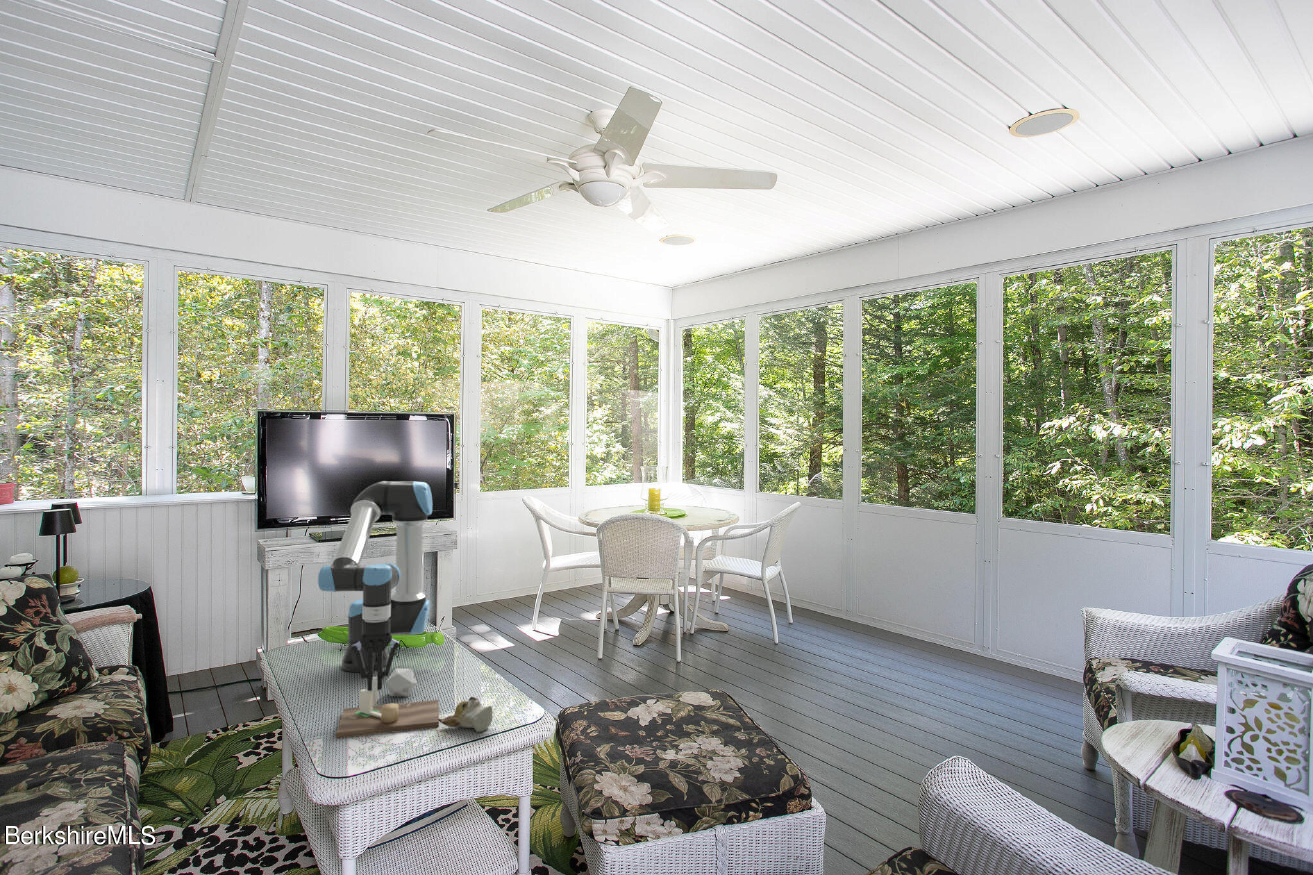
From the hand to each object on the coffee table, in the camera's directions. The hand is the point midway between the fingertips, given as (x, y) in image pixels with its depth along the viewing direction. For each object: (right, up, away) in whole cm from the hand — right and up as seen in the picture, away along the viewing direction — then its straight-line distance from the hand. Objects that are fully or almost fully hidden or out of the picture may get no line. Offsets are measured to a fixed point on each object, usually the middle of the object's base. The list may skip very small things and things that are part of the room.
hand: (374, 700), depth 190 cm
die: (+1, -5, +16) cm, 17 cm away
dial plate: (+6, -5, -2) cm, 8 cm away
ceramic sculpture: (+29, -6, -5) cm, 30 cm away
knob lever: (+3, -3, -4) cm, 5 cm away
